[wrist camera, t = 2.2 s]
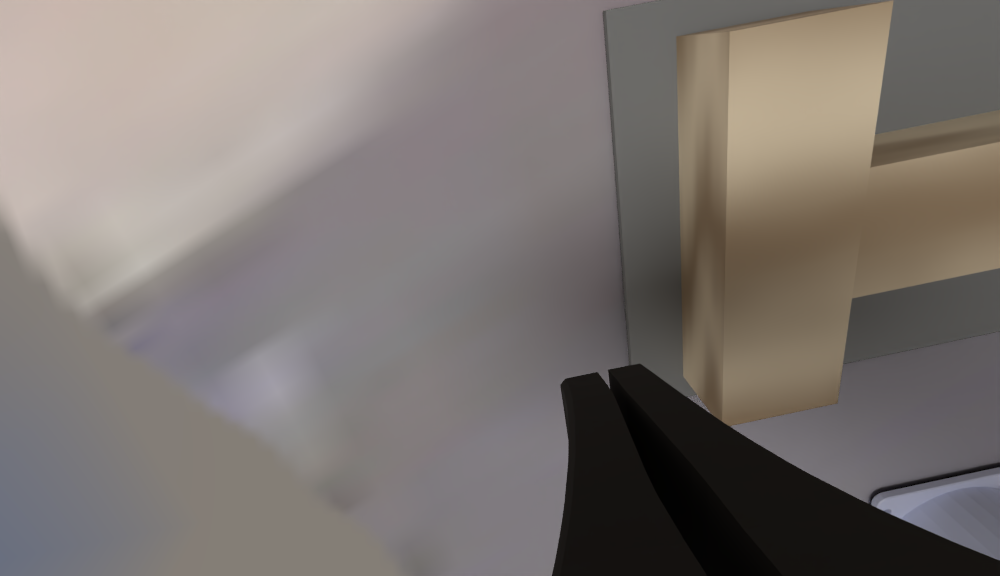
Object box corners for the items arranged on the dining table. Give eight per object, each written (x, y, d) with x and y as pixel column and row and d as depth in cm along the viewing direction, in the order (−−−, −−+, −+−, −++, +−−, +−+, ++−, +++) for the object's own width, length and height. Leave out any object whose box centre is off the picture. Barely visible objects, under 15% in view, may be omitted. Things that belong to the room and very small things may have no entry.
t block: (979, 315, 20) (1064, 355, 17) (683, 376, 20) (721, 427, 17) (1072, -39, 15) (1213, -62, 12) (676, 36, 15) (729, 31, 12)
